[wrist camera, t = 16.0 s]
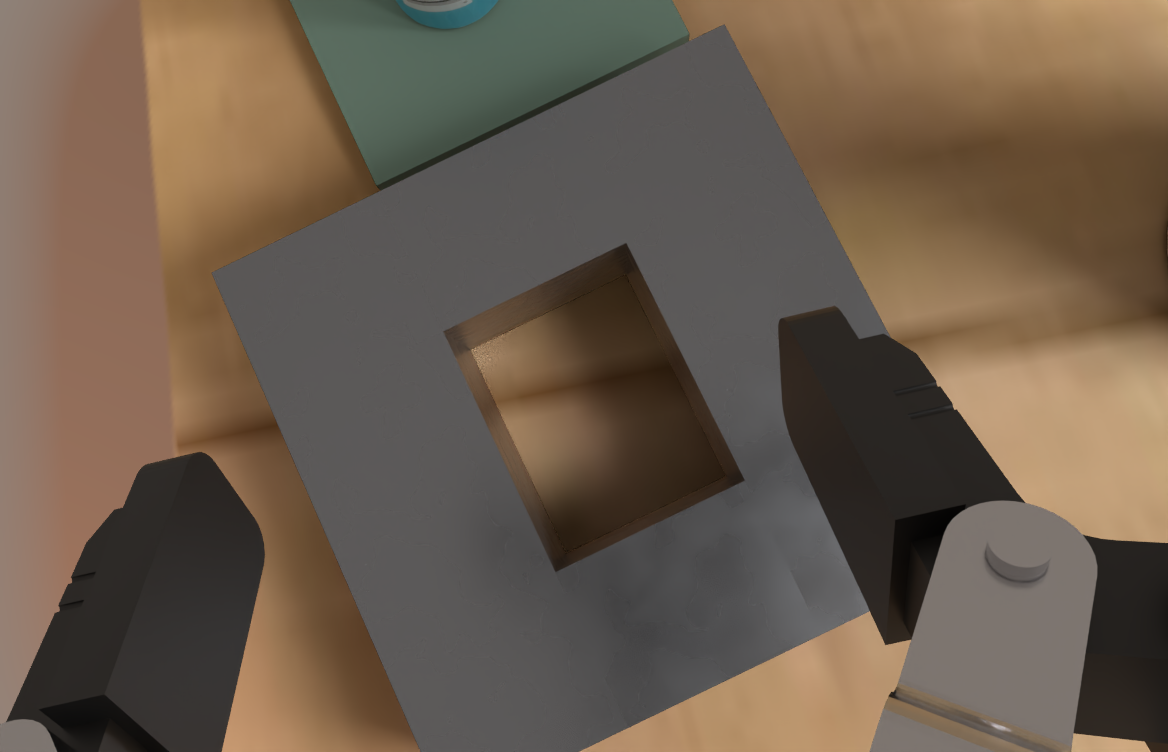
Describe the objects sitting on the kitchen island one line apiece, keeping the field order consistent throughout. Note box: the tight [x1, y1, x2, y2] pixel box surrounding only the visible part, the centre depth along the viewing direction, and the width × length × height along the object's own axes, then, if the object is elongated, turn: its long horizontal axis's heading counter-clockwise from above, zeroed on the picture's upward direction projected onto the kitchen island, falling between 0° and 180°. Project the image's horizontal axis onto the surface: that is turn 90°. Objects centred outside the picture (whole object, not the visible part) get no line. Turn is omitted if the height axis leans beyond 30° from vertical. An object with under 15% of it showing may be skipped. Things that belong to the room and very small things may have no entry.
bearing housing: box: [212, 25, 891, 752], centre depth 30 cm, size 20×20×5 cm
